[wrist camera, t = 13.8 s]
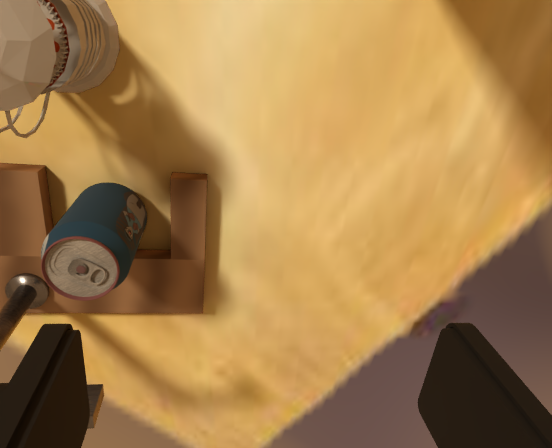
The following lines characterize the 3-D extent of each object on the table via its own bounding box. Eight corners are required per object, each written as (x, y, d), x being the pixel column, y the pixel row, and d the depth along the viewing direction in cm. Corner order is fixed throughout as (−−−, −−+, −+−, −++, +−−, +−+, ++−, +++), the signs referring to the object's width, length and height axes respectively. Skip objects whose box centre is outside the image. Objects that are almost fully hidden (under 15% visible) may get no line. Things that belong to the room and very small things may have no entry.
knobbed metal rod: (133, 274, 44) (86, 416, 28) (135, 305, 46) (91, 456, 30) (4, 272, 42) (-125, 424, 26) (11, 305, 44) (-108, 466, 28)
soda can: (67, 220, 43) (17, 284, 32) (96, 165, 41) (54, 214, 30) (130, 250, 45) (103, 319, 35) (160, 199, 43) (142, 256, 33)
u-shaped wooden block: (207, 174, 43) (206, 180, 41) (203, 302, 49) (202, 313, 48) (-29, 161, 39) (-41, 167, 38) (0, 301, 46) (-8, 312, 44)
